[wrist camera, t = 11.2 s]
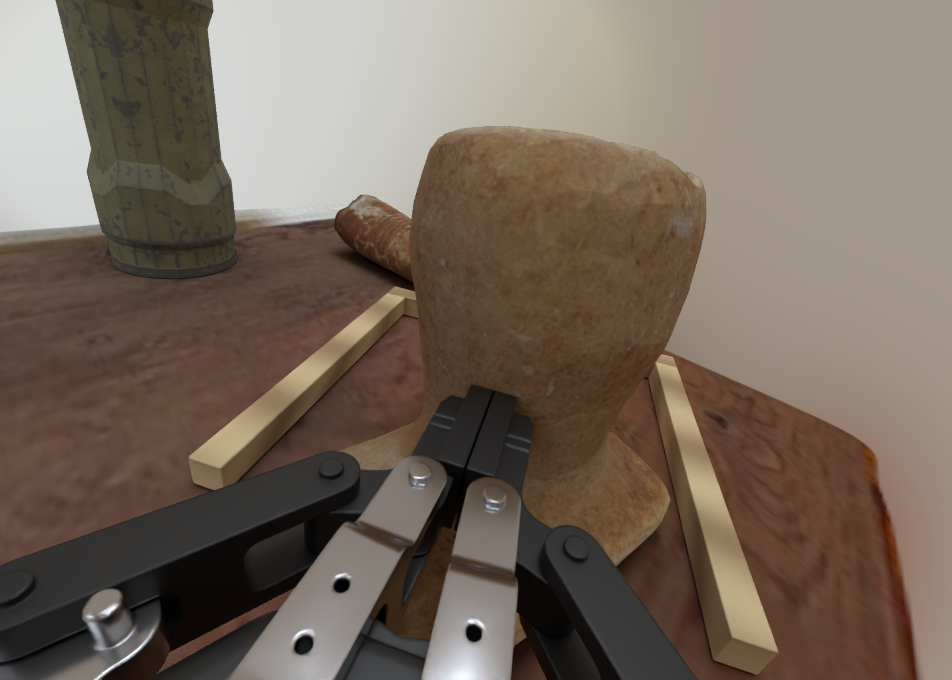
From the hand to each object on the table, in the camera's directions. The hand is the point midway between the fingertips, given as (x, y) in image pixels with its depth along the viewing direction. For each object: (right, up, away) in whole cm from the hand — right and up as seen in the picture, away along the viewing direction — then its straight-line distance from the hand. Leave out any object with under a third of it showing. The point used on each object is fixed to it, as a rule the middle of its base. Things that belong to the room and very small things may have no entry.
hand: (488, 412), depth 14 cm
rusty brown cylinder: (-6, +8, +27) cm, 29 cm away
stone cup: (0, -5, +6) cm, 8 cm away
